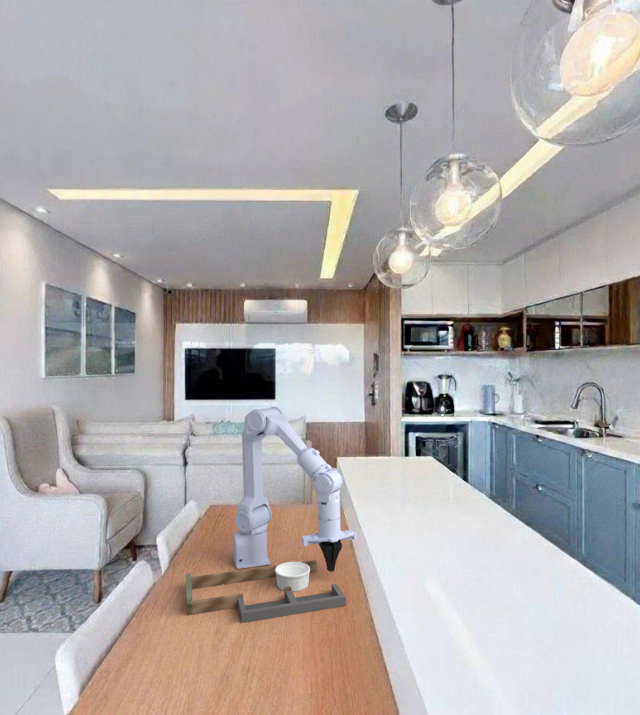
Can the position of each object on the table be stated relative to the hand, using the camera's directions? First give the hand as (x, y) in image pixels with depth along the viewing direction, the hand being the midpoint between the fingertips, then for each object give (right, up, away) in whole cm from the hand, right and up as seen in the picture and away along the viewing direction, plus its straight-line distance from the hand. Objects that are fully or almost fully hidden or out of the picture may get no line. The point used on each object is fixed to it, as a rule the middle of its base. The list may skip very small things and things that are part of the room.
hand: (330, 570), depth 128 cm
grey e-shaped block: (-9, -3, -14) cm, 17 cm away
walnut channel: (-18, -3, -5) cm, 19 cm away
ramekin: (-10, -3, -3) cm, 10 cm away
